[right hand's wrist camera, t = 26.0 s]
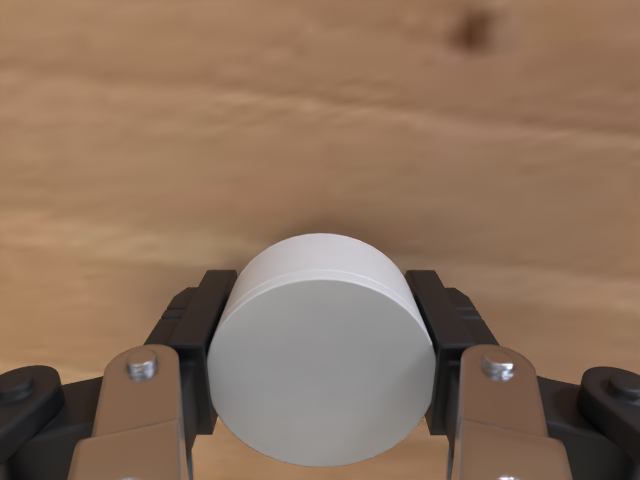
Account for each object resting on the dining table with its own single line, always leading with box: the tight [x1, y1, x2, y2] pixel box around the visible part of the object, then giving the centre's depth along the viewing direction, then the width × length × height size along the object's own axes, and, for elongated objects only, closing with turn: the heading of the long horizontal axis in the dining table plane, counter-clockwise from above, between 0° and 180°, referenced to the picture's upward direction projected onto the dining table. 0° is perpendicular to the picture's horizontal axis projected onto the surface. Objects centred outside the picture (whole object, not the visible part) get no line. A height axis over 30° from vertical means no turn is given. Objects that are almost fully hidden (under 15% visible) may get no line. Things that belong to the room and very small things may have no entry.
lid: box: [207, 233, 436, 467], centre depth 10 cm, size 5×5×2 cm
